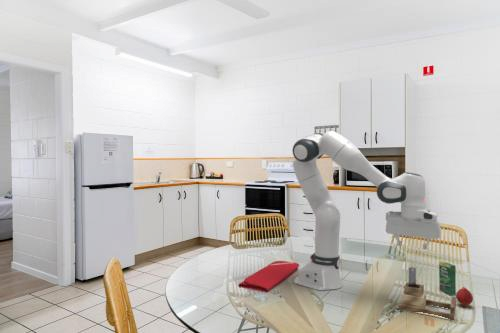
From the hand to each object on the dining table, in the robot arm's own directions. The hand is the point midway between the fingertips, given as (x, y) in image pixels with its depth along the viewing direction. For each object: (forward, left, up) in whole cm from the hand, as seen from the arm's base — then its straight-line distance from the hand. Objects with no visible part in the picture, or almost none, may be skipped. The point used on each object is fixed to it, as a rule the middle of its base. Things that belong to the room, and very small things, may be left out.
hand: (412, 247), depth 144 cm
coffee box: (+11, +26, -24) cm, 37 cm away
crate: (+1, 0, -24) cm, 23 cm away
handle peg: (0, 0, -19) cm, 19 cm away
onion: (+18, +12, -24) cm, 32 cm away
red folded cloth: (-66, +2, -25) cm, 70 cm away
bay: (+5, 0, -24) cm, 25 cm away
